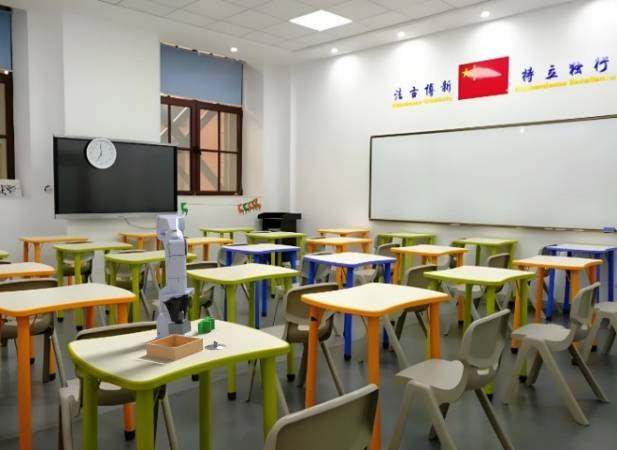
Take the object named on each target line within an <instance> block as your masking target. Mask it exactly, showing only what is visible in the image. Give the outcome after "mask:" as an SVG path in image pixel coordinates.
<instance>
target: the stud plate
mask: <svg viewBox="0 0 617 450" xmlns="http://www.w3.org/2000/svg"><path fill="white" fill-rule="evenodd" d="M226 348H227V344H223V343H218V341H217V340H214V341H213V343H212V344H208V345H206V346H204V349H205V350H208V351H218V350H223V349H226Z"/></svg>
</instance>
